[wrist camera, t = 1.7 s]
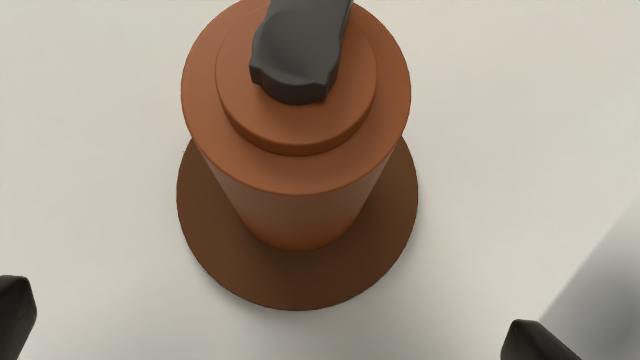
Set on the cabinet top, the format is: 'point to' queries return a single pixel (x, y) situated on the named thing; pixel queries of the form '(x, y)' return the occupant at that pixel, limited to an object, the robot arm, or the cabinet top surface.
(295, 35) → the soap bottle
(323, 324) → the cabinet top surface
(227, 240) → the coaster
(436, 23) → the cabinet top surface
